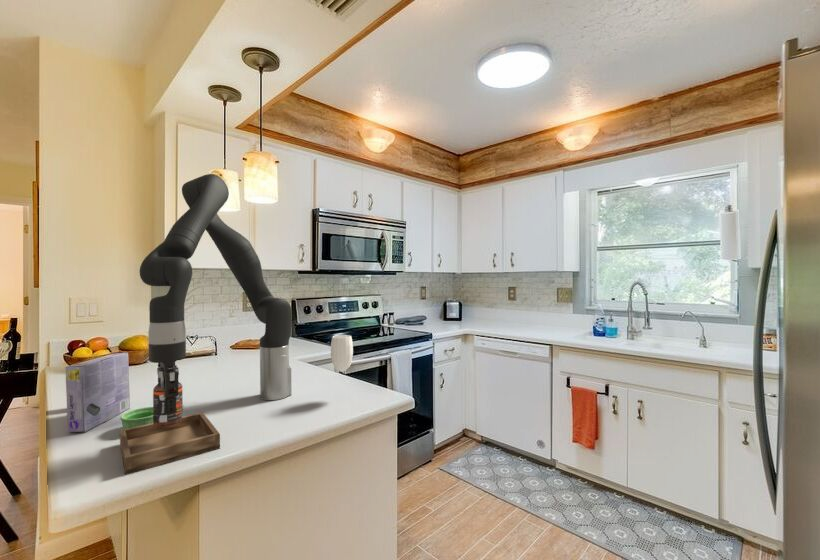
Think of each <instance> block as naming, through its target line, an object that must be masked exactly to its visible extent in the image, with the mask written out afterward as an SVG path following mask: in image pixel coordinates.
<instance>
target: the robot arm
mask: <svg viewBox="0 0 820 560" xmlns="http://www.w3.org/2000/svg"><path fill="white" fill-rule="evenodd" d="M181 193H182V197H183V199H184V201H185V204H186V205H187V206H188V208H189V209H188V210H187V211H186V212H184V213H183V214H182V215H181V216H180V217H179V218H178V219H177V220H176V221H175V222H174V224H173V225H172V227H171V228H170V230H169V231H168V234H167V235H166V237H165V239H164V240H163V242H161V243H160V244H158V246H156V247H155V248H154V249H153V250H152V251H151V252H149V253H148V254H147V256H146V257H144V259H143V260H142V262H141V263H140V267H139V277H140V279H141V282H143V283H144V284H145V285H148V286H150V287H169V289H168V290H167V291H168V292H167V293H166V294H165V295H160V296H155V297H153V298H151V299H150V302H149V305H148V307H149V325H148V332H147V334H148V361H149V362H150V363H154V364H157V368H156V374H157V378H158V377H159V378H160V383H161V389H162V390H164V396H163V397H164V403H165V414H166V415H168V414H173V413H175V412H176V397H177V396H178V394H179V392H178V385H179V383H180V382H179V375H180V371H179V370H180V369H179V367H178V366H177V365H176V362H177V361H182V360H184V359H185V358H186V356H187V338H186V337H187V330H186V323H185V303H186V298H187V294H188V290H189V287H190V284H191V281H192V278H193V267H192V264H191V262H190V260H189V259H190V258H192V257H193V255H194V253H195V252H196V249H197V247H198V246H199V244H200V241H201V239H202V237H203V235H204V233H205V232H207V233H208V235H209V237H210V238H211V240H212V241H213V243H214V244H215V246H216V248H217V250H218V251H219V253H220V255H221V256H222V258H223V260H224V262H225V264H226V265H227V266H228V268H229V271H230V272H231V273H232V275H233V276H234V278H235V280H237V283H238V285H239V286H240V287H241V289H242V290H243V292H244V293H245V295H246V297H247V299H248V301H249V303H250V306H251V308H252V311H253V312H254V314H255V317H256V319H257V320H259V321H260V322H261V323H262V324H265V327H264V328H265V330H264V331H265V333H264V335H263V336H261V337H260V338H259V386H260V387H259V393H260V399H261V400H265V401H276V400H282V399H284V398H285V399H286V398H287V397H289V396H292V395H293V394H292V389H293V388H292V367H291V366H290V352H289V351H290V338H291V336H292V321H293V313H292V311H293V310H292V307H291V304H290V302H288V300H286V299H284V298H282V297H281V298H280V297H275V296H274V295H273V294H272V293H271V291H270V289H269V288H268V286H267V285H266V283H265V280H264V276H263V269H262V264H261V261H260V258H259V256H258V254H257V252H256V251H255V249H254V246H253V245H252V243H251V242H250V241H249V240H248V239H247V238H246V237H245V236H244V235H242V234H241V233H240V232H238V231H236V230H235V229H233V227H230V226H229V225H227V224H226V223H225V222H224V221H223V220H222V218H220V216H219V214H218V213H219V211H220V210H221V209H222V208H223V206H224V205H225V204H226V202H228V199H229V195H230V194H229V187H228V185H227V183H226V182H225V180H224V179H223V178H222V177H221V176H219V175H218V174H214V173H208V174H204V175H201V176H199V177H196V178H194V179H192V180H188V181H187V182H185V183H183V184H182V187H181ZM178 382H179V383H178ZM164 383H165V384H164ZM169 388H173V389H174V392H168V389H169Z"/></svg>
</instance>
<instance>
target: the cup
mask: <svg viewBox="0 0 820 560" xmlns="http://www.w3.org/2000/svg"><path fill="white" fill-rule="evenodd" d="M330 342H331V344H330V357H331V363H332V365H333V367H334V369H336V370H337V371H338V372H341V373H343V372H346V371H347V370H348V368H350V367H351V364H352V361H353V355H354V346H353V345H354V343H353V338H352V335H349V334H336V335H333V336H332V337H331V341H330Z"/></svg>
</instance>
